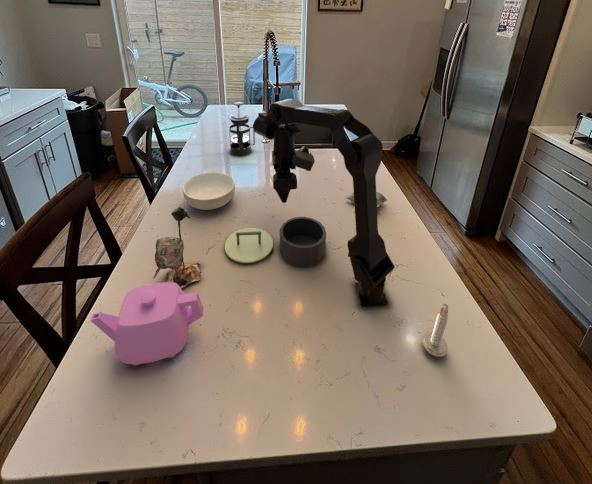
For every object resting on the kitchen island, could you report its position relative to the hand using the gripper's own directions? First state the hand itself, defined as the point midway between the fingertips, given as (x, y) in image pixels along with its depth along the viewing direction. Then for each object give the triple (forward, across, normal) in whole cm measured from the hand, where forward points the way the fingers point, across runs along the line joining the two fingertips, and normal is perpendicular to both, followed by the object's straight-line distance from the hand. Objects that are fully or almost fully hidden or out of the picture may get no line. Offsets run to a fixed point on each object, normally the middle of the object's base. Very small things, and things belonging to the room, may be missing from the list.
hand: (283, 193), depth 96 cm
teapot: (+13, -33, +28) cm, 45 cm away
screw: (+13, -39, -29) cm, 50 cm away
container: (+13, -9, -5) cm, 17 cm away
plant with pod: (+13, -17, +27) cm, 35 cm away
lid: (+12, -7, +10) cm, 17 cm away
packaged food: (+13, +11, -29) cm, 34 cm away
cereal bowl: (+13, +15, +24) cm, 31 cm away
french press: (+13, +53, +16) cm, 57 cm away
